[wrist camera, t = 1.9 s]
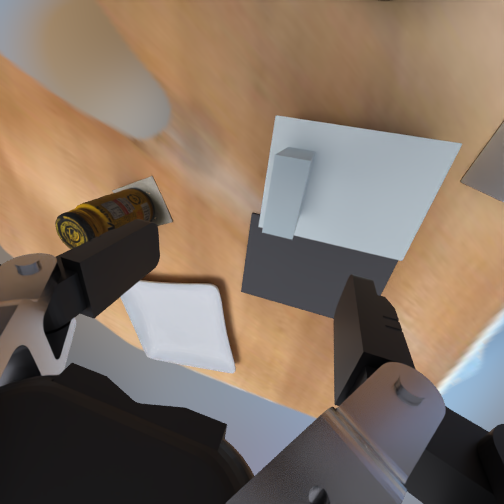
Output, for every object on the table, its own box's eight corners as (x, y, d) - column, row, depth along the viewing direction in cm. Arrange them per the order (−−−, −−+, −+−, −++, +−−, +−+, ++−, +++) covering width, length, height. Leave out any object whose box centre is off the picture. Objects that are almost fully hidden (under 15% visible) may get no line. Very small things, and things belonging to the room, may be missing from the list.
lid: (263, 219, 28) (241, 252, 21) (280, 115, 23) (258, 113, 16) (396, 250, 26) (421, 298, 19) (450, 141, 21) (511, 152, 14)
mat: (252, 212, 35) (251, 213, 34) (403, 247, 31) (404, 248, 31) (241, 290, 42) (241, 291, 41) (364, 325, 38) (364, 327, 38)
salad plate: (241, 361, 51) (236, 376, 48) (155, 347, 57) (145, 359, 54) (225, 274, 42) (217, 286, 39) (124, 269, 48) (110, 278, 45)
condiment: (113, 190, 40) (37, 214, 29) (152, 175, 36) (83, 197, 26) (134, 231, 42) (72, 266, 32) (173, 221, 39) (118, 256, 29)
